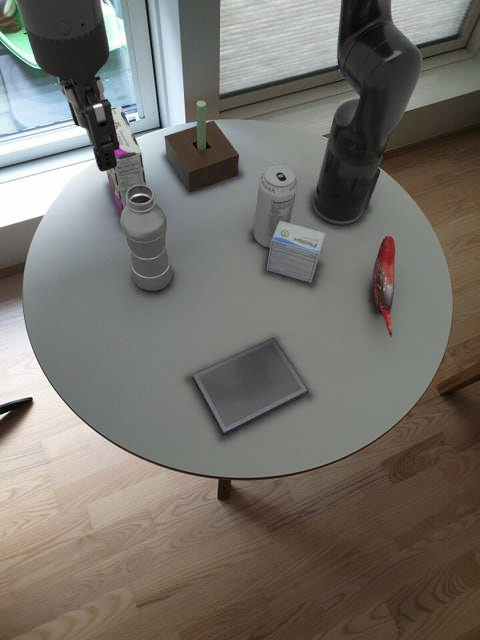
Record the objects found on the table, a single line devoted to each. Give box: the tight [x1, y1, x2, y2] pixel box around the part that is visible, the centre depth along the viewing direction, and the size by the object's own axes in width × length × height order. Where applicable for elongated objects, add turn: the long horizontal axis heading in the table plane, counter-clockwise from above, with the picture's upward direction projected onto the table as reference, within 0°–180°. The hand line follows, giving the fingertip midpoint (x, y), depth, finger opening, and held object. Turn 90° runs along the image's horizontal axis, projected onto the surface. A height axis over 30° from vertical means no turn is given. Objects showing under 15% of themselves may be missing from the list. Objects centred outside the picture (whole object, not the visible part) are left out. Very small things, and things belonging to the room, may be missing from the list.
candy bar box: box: [105, 106, 147, 215], centre depth 91 cm, size 11×5×16 cm, turn 23°
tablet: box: [192, 337, 309, 436], centre depth 81 cm, size 14×10×1 cm
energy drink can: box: [252, 162, 299, 249], centre depth 89 cm, size 6×6×15 cm
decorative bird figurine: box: [371, 235, 396, 338], centre depth 85 cm, size 3×18×10 cm, turn 176°
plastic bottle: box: [119, 185, 173, 292], centre depth 81 cm, size 6×7×20 cm
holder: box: [164, 120, 240, 193], centre depth 102 cm, size 10×10×5 cm
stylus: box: [196, 100, 207, 152], centre depth 98 cm, size 2×2×14 cm
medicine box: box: [266, 220, 326, 284], centre depth 89 cm, size 8×4×9 cm, turn 72°
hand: (95, 144), depth 66 cm, fingers open, 8 cm apart
